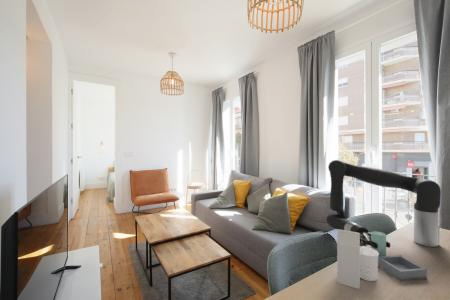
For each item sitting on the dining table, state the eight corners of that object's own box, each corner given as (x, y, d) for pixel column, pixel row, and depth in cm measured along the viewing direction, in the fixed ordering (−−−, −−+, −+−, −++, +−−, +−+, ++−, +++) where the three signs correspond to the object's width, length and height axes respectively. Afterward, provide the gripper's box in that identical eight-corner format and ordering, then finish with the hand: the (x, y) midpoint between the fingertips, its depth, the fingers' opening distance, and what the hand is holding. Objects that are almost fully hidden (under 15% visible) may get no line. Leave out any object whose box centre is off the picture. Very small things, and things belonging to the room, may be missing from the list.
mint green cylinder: (378, 254, 102) (378, 230, 102) (389, 260, 97) (389, 235, 96) (368, 255, 101) (368, 231, 101) (378, 261, 96) (378, 236, 96)
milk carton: (359, 289, 77) (359, 236, 77) (337, 283, 81) (337, 232, 81) (359, 279, 83) (359, 229, 83) (338, 273, 87) (338, 226, 87)
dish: (400, 263, 94) (400, 255, 94) (426, 278, 83) (426, 269, 83) (377, 265, 93) (377, 256, 93) (400, 280, 82) (401, 271, 82)
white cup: (382, 283, 81) (382, 256, 80) (359, 281, 82) (359, 254, 82) (372, 271, 88) (372, 247, 88) (351, 269, 90) (351, 245, 90)
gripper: (343, 224, 112) (368, 238, 95) (368, 223, 114) (397, 236, 97) (343, 239, 112) (368, 255, 96) (368, 237, 114) (397, 253, 97)
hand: (383, 245), depth 96 cm, fingers closed on mint green cylinder, 5 cm apart
